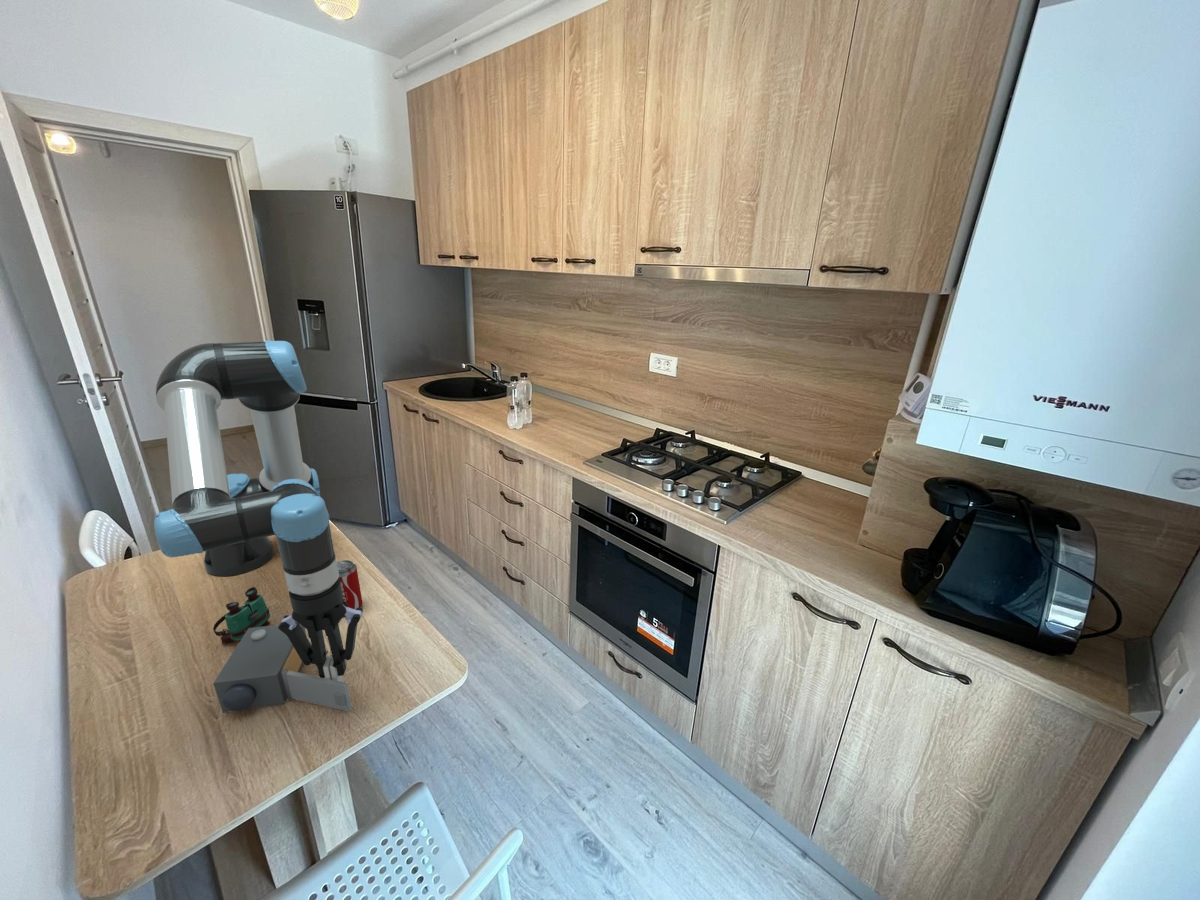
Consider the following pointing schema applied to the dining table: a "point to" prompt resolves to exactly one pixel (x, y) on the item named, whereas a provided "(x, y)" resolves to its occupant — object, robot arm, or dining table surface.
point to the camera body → (257, 670)
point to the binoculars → (243, 617)
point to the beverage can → (350, 584)
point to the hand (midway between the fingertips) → (336, 687)
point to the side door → (316, 690)
